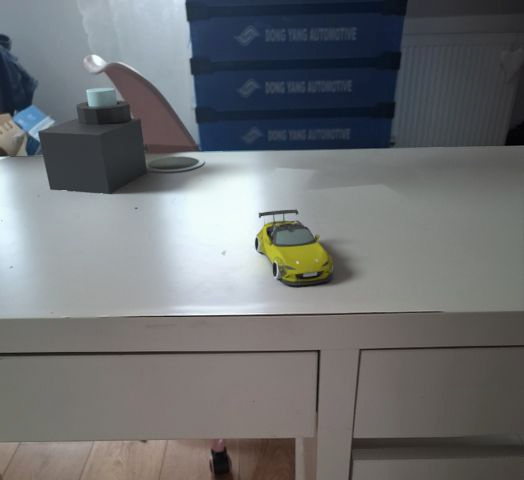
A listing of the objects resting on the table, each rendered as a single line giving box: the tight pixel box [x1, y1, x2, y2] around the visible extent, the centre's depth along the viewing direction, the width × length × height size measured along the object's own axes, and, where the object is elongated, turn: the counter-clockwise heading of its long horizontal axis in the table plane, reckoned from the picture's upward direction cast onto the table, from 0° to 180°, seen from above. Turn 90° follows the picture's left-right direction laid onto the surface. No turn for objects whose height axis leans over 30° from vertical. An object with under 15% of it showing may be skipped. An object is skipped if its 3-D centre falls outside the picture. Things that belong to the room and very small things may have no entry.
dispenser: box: [37, 99, 148, 195], centre depth 68 cm, size 11×8×8 cm
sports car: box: [254, 208, 334, 287], centre depth 47 cm, size 5×10×3 cm, turn 14°
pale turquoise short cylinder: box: [86, 87, 118, 107], centre depth 68 cm, size 3×3×2 cm
